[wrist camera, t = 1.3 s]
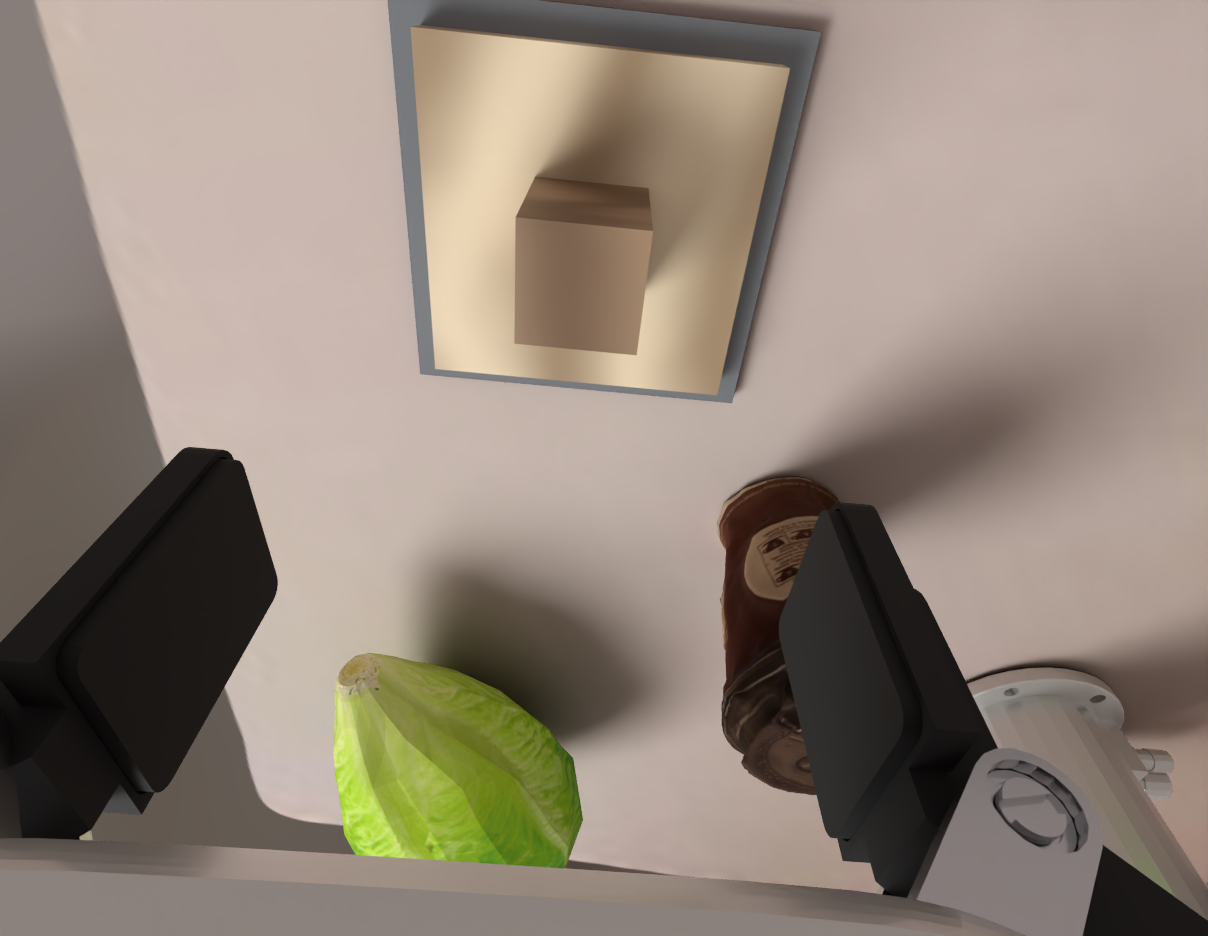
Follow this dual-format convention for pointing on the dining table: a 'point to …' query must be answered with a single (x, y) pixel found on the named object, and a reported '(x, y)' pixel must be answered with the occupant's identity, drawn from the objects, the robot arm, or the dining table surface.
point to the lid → (588, 205)
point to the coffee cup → (765, 624)
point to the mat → (519, 9)
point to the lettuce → (448, 769)
